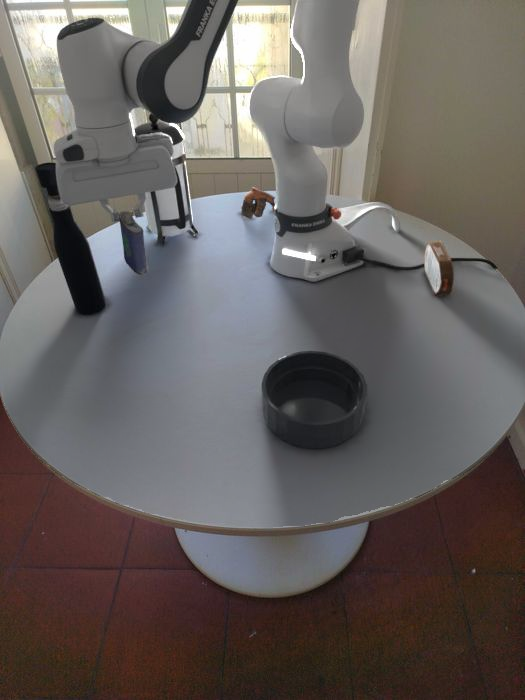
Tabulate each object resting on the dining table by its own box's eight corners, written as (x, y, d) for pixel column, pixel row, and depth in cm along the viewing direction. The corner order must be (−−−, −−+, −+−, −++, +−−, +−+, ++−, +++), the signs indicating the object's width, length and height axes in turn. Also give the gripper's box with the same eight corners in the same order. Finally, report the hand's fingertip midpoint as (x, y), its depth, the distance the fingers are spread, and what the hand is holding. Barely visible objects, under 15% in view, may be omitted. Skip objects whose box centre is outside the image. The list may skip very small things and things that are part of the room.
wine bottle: (98, 316, 99) (53, 173, 79) (70, 313, 100) (19, 171, 80) (111, 299, 103) (72, 160, 84) (85, 296, 104) (40, 159, 85)
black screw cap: (334, 367, 84) (337, 341, 81) (381, 432, 73) (387, 406, 69) (249, 390, 81) (248, 364, 77) (284, 463, 69) (285, 437, 65)
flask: (150, 273, 89) (143, 220, 82) (135, 276, 88) (127, 223, 81) (134, 251, 95) (127, 200, 88) (120, 254, 94) (112, 202, 87)
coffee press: (131, 242, 124) (103, 120, 105) (163, 217, 135) (143, 103, 116) (188, 253, 119) (170, 126, 99) (217, 226, 130) (205, 108, 110)
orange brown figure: (236, 211, 138) (246, 183, 136) (264, 222, 142) (275, 196, 139) (242, 217, 128) (253, 187, 125) (273, 229, 131) (285, 201, 128)
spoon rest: (312, 242, 121) (313, 216, 116) (306, 223, 130) (307, 198, 125) (403, 238, 121) (408, 211, 117) (391, 219, 130) (395, 194, 126)
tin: (449, 303, 99) (459, 268, 93) (434, 302, 99) (443, 268, 94) (432, 266, 110) (440, 233, 105) (419, 266, 110) (426, 233, 105)
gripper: (166, 125, 82) (179, 201, 91) (44, 143, 77) (70, 221, 86) (174, 135, 77) (186, 214, 87) (44, 154, 73) (72, 236, 82)
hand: (127, 218), depth 86 cm, fingers closed on flask, 3 cm apart
